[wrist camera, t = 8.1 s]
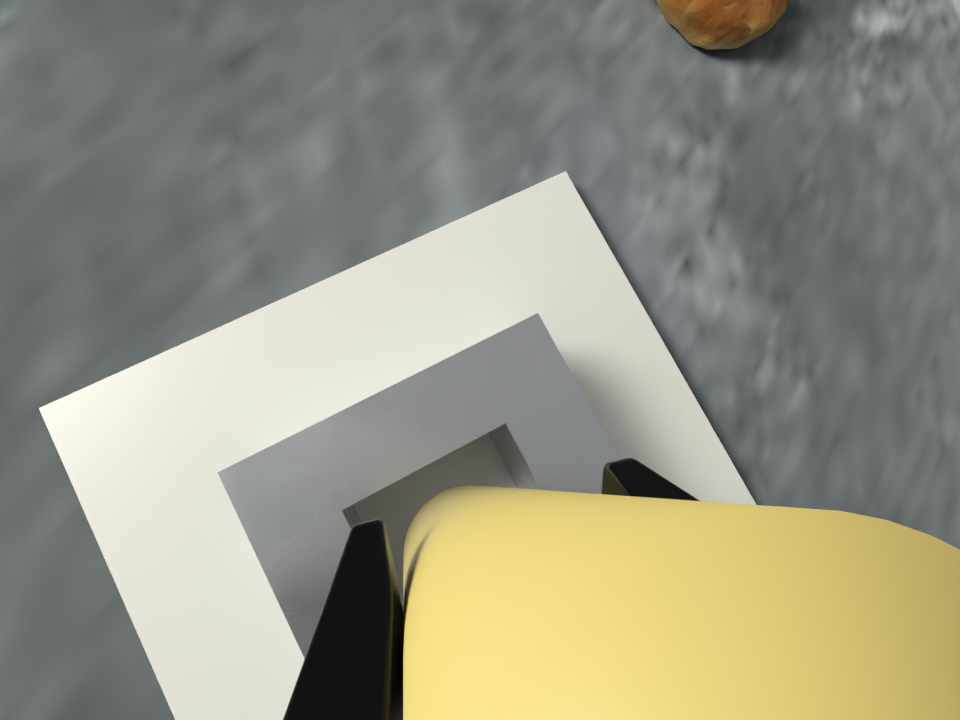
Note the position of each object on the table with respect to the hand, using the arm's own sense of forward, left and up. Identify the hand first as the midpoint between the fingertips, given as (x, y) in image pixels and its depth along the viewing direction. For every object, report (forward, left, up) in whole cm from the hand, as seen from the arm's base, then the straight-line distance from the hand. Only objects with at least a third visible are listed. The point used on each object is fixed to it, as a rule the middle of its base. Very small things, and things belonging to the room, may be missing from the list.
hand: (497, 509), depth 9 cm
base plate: (-1, 0, -11) cm, 11 cm away
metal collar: (-1, 0, -11) cm, 11 cm away
